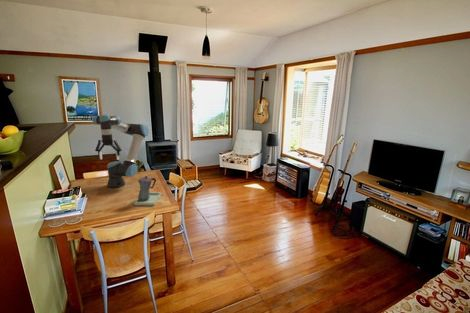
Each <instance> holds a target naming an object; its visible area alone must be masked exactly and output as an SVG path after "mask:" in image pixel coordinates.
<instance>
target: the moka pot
mask: <svg viewBox="0 0 470 313" xmlns="http://www.w3.org/2000/svg"><path fill="white" fill-rule="evenodd" d="M152 181H153V183H152ZM137 182H138V184H139V193H138V195H137V199H140V200H148V199H149V192H150V189H153V188H154V186H155V184H156V182H157V180H156V178H155V177H151V178H150V177H148V176H144V177H140V178H139V179H138V180H137ZM151 184H152V186H151Z"/></svg>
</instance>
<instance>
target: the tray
mask: <svg viewBox="0 0 470 313" xmlns="http://www.w3.org/2000/svg"><path fill="white" fill-rule="evenodd" d="M161 196H162V192H158V191H155V192H154V191H153V192H151V191H149V199H148V200H140V199H138V198H136V200H135V201H134V202H133V206H135V207H136V206H137V207H138V206H139V207H141V206H142V207H144V206H145V207H146V206H147V207H154V206H156V204H157V203H158V201H159V200H160V197H161Z"/></svg>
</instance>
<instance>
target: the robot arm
mask: <svg viewBox="0 0 470 313" xmlns="http://www.w3.org/2000/svg"><path fill="white" fill-rule="evenodd" d="M91 119H92V124H94V125H98V126H99V125H100V126H99V127H100V133H101V139H98V141H97V145H96V147H95V152H97V154H98V156H99V160H100V161H101V160H103V153H102V150H103V148H104V147H105V146H106V147H107V146H110V147H112V149H113V150H115V155H116V160H115V161H111V162H109V163H107V168H106V169H107V174H108V175H107V176H108V179H107V180H108V181H107V183H106V184H107V188H110V189H117V188H122V187H124V186H125V185H126V181H125V179H124V178H123V177H127V178H132V177H134V176H136V175H137V173H138V171H139V170H138V169H139V168H138V166H137V157H138V155H139V152H140V148H141V147H142V146H141V145H142V141H143V140H145V137H148V136H149V133H150V132H149V130H150V129H149V128H148V126H147V125H146V124H144V123H141V124H140V123H126V122H122V118H121V117H120V116H119V115H110V114H100V115H94V116H92V118H91ZM112 129H113V130H117V131H120V133H123V134H125V135H129V136H132V139H131V142H130V147H129V150H128V152H127V156H126V158H125V160H123V162H121V161H119V160H120V156H121V154H120V152H122V148H121V147H120V144H119V143H118V140H117V139H113V132H112Z"/></svg>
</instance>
